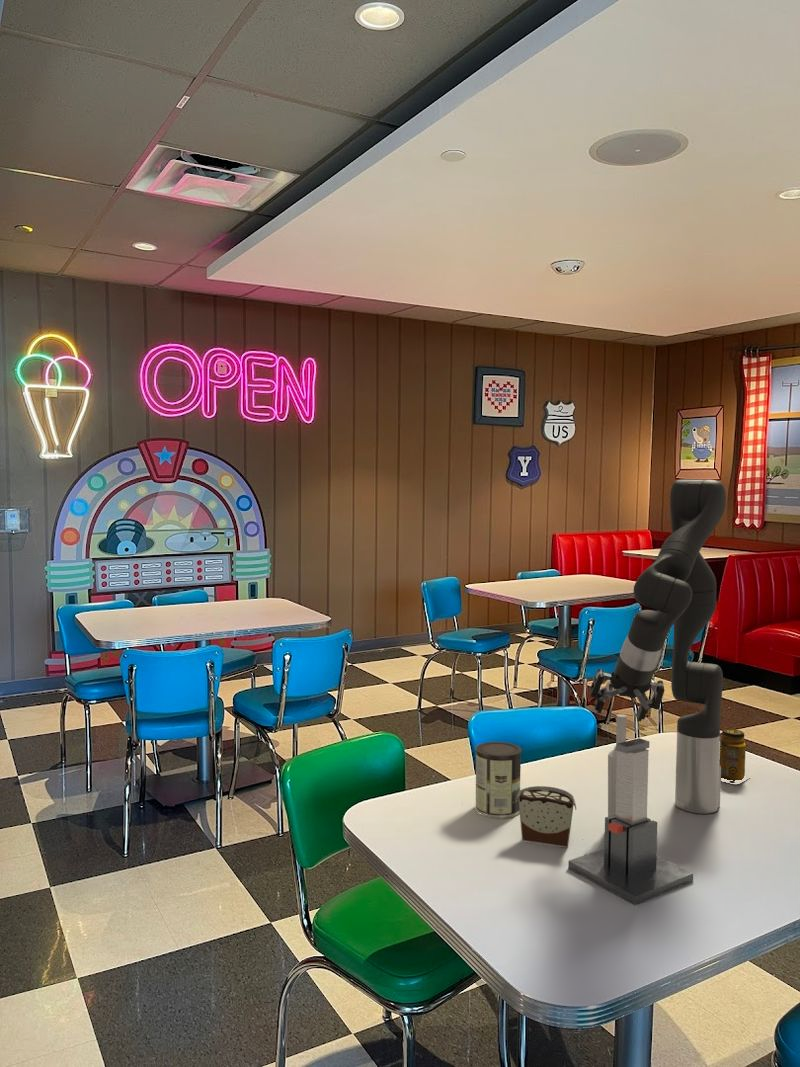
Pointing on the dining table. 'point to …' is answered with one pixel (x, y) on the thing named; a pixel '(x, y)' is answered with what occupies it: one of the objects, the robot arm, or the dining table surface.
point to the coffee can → (497, 779)
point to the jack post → (632, 782)
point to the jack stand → (630, 863)
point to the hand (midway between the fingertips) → (618, 714)
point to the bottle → (615, 763)
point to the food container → (545, 815)
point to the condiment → (732, 754)
